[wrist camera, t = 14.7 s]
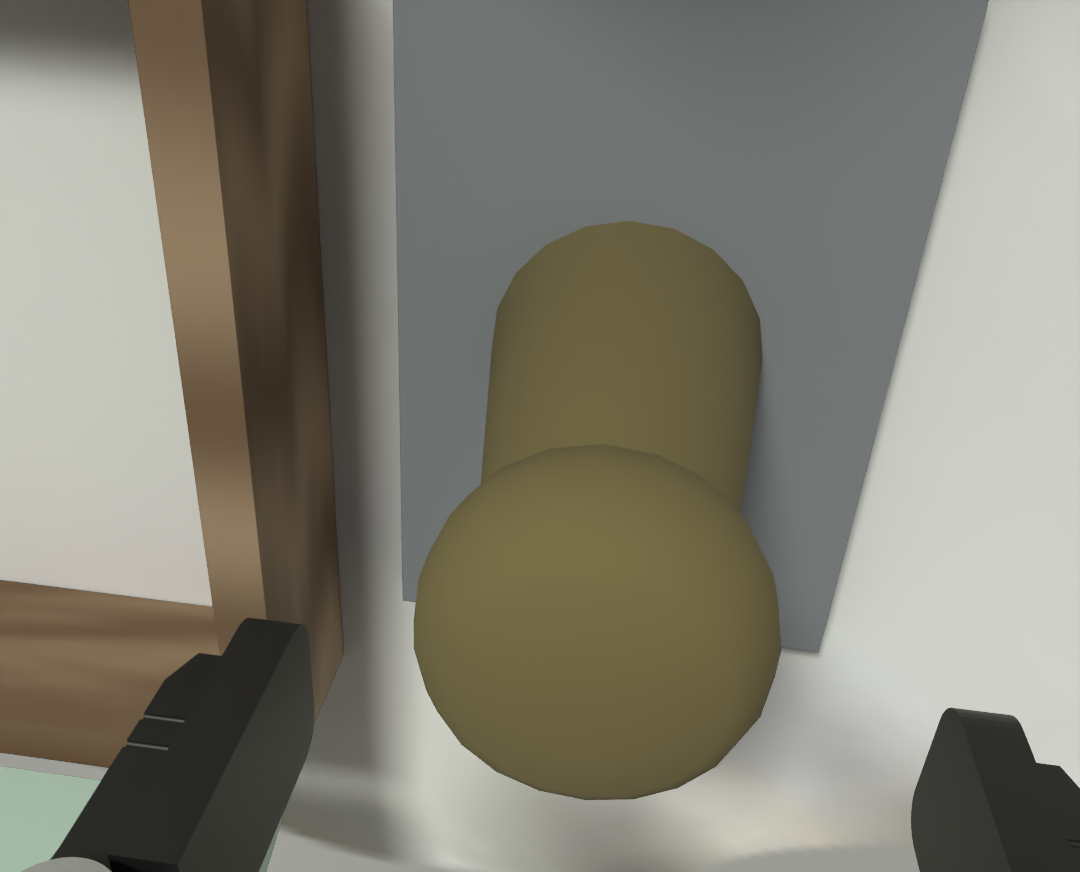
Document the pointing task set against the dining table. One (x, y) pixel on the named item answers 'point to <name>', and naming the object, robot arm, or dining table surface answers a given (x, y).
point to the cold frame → (211, 386)
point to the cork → (608, 526)
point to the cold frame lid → (44, 815)
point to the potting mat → (678, 216)
